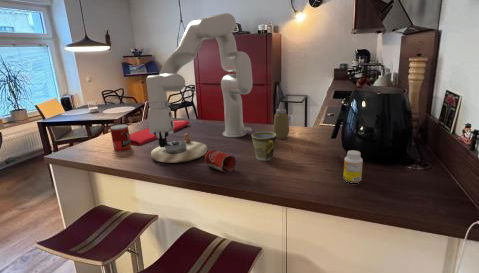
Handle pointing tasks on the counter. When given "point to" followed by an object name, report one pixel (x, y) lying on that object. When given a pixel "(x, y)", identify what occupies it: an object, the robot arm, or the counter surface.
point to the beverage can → (220, 160)
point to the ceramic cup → (264, 145)
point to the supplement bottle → (353, 167)
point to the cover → (175, 147)
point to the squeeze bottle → (281, 123)
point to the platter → (191, 153)
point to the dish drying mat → (146, 136)
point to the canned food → (120, 137)
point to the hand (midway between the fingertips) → (163, 146)
